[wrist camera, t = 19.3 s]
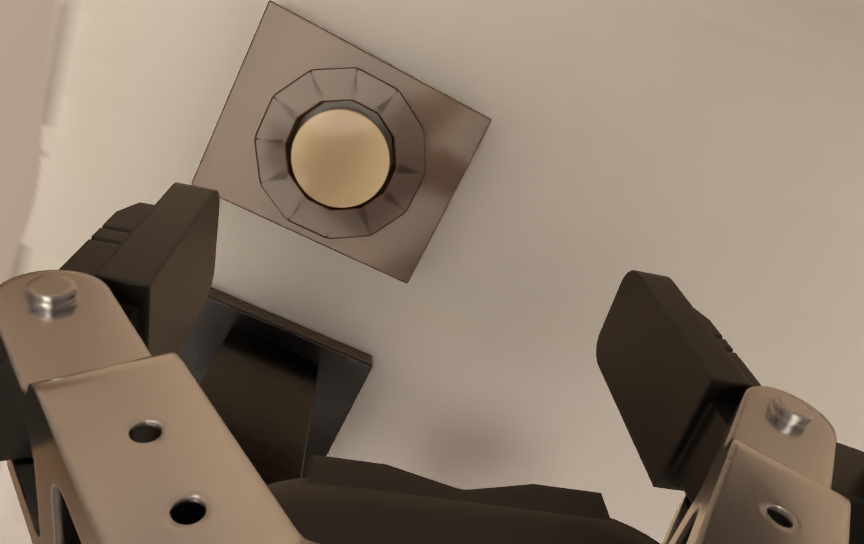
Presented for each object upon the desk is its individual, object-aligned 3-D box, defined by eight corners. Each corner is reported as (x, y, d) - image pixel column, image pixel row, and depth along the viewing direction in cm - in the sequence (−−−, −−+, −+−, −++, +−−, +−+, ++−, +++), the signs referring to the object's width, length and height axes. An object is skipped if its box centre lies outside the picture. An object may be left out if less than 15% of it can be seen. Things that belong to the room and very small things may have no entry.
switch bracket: (372, 356, 31) (385, 633, 15) (313, 471, 32) (265, 840, 16) (196, 280, 29) (-7, 507, 13) (140, 406, 31) (-106, 752, 14)
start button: (403, 134, 25) (406, 137, 23) (363, 215, 26) (363, 224, 24) (318, 91, 24) (315, 90, 23) (280, 176, 25) (274, 181, 23)
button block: (483, 118, 29) (502, 121, 25) (404, 272, 30) (410, 297, 26) (275, 6, 27) (261, -9, 23) (202, 178, 28) (177, 191, 24)
